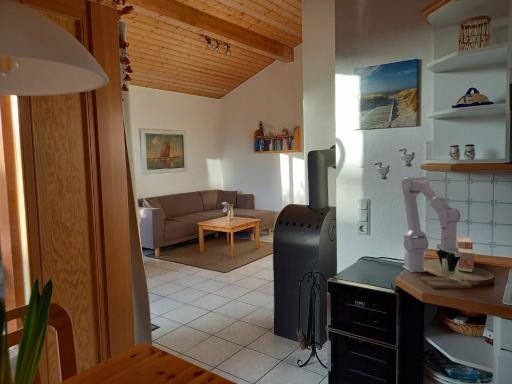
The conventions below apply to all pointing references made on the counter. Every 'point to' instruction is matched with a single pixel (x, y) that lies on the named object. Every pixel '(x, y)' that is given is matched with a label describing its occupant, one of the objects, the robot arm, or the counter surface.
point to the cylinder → (446, 267)
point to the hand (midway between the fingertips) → (447, 269)
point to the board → (444, 282)
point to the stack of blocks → (465, 252)
